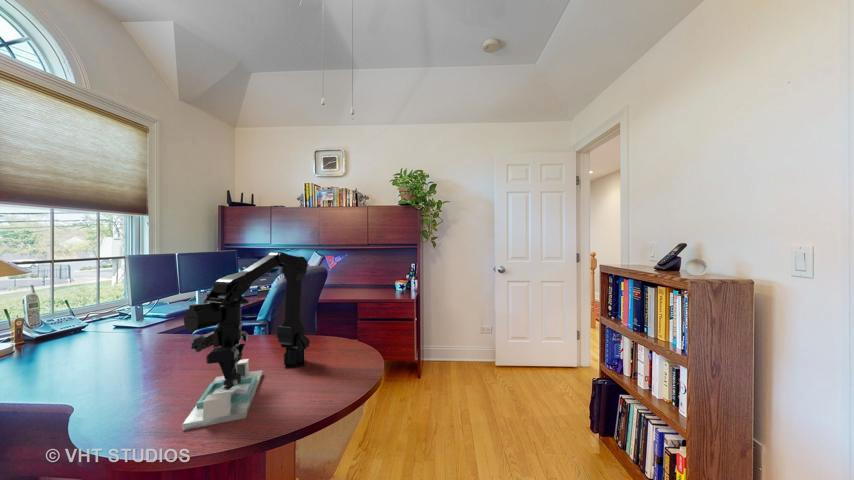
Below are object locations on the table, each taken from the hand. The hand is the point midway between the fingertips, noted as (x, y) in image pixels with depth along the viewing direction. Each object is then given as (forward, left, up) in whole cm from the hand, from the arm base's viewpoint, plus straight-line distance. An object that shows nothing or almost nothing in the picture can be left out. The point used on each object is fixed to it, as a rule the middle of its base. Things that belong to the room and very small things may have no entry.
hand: (229, 375), depth 85 cm
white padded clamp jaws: (0, 0, -5) cm, 5 cm away
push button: (0, 0, -4) cm, 4 cm away
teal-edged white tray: (0, 0, -6) cm, 6 cm away
